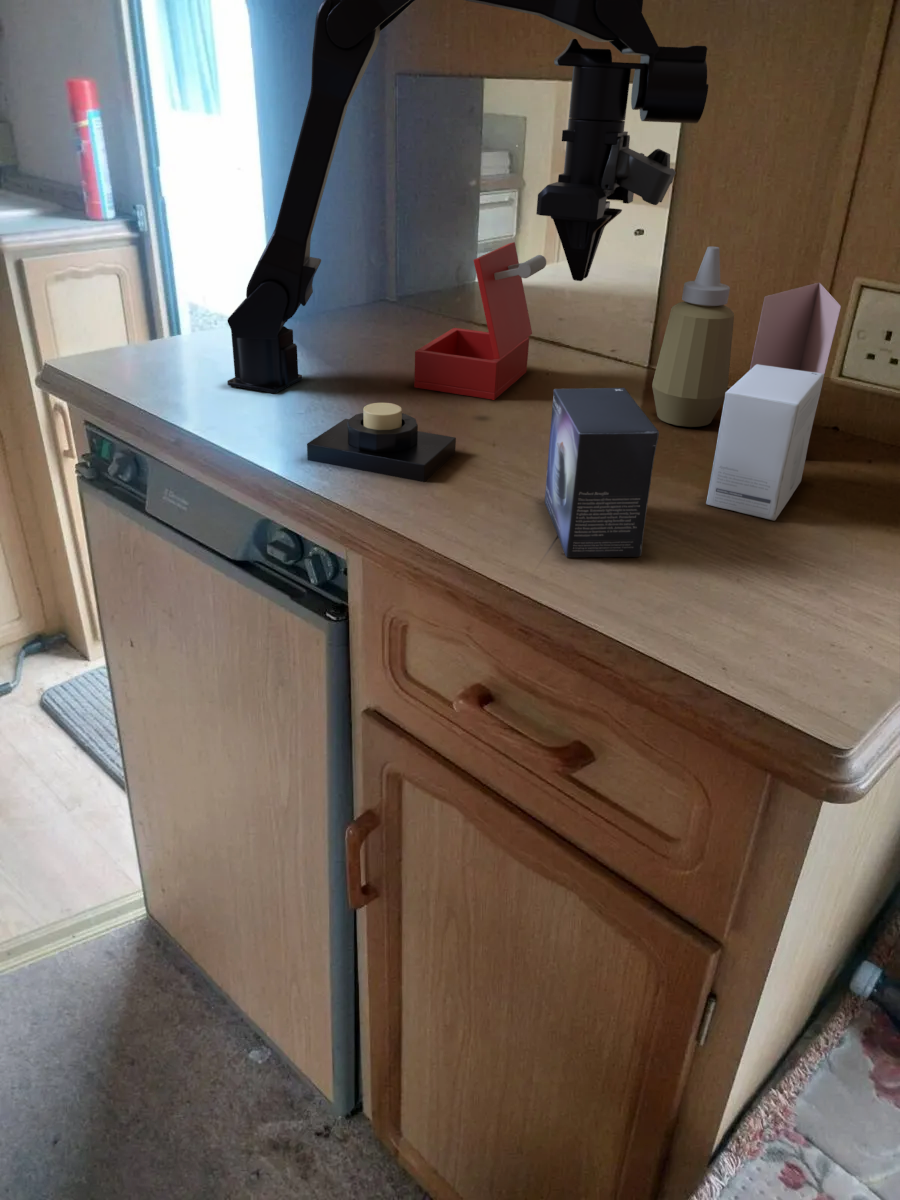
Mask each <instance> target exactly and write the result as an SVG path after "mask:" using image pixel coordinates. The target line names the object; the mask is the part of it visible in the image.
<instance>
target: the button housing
mask: <svg viewBox="0 0 900 1200" xmlns="http://www.w3.org/2000/svg"><path fill="white" fill-rule="evenodd" d="M456 446H457V438H456V437H455V436H450V435H443V434H437V433H432V432H426V431H420V430H419V424H418V422H417V420H416V418H415V417H413V416H411V415H408V414H407V413H403V412H402V427H401V428H396V429H392V430H376V429H370V428H367V427H365V426H364V418H363V412H361V413H357V414H355V415H353V416H351V417H349V418H344V419H342V420H341V421H340V422H338V423H337V424H335V425H334V426H332V427H330V428H329V429H327V430H325V431H324V432H323V433H321V434H320V435H318V436H316V437H314V438H313V439H312V440H310V441H309V442H307V443H306V452H307V453H306V456H307V461H309V462H315V463H320V464H325V465H332V466H337V467H340V468H341V467H342V468H347V469H353V470H358V471H362V472H363V471H364V472H367V473H374V474H379V475H385V476H389V477H395V478H401V479H404V480H410V481H416V482H421V483H425V482H426V481H427V480H428V479H429V478H431V476H433V475H434V474H435V473H436V472H437V471H438V470H439V469H441V467H442V466H443V465H444V464H446V463H447V462H448V461H449V460H451V458H452V457H453V456H454V455H456Z"/></svg>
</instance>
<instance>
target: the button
mask: <svg viewBox="0 0 900 1200" xmlns="http://www.w3.org/2000/svg"><path fill="white" fill-rule="evenodd" d="M362 411H363V412H362V413H363V418H364V426H365V427H367V428H370V429H376V430H392V429H396V428H401V427H402V413H403V408H402V407H401V406H400V405H398V404H395V403H391V402H373V403H368V404H367V405H365V406H364V407H363V409H362Z"/></svg>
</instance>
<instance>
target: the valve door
mask: <svg viewBox="0 0 900 1200" xmlns="http://www.w3.org/2000/svg"><path fill="white" fill-rule="evenodd" d="M473 265H474V270H475V274H476V278H477V284H478V288H479V293H480V297H481V303H482V306H483V307H482V308H483V312H484V317H485V323H486V327H487V332H489V336H490V341H491V346H492V350H493V355H494V359H500V358H501V357H502V356H504V355H505V354H506V353H508V352H509V351H510V350H512V349H513V348H514V347H516V346H517V345H518V344H519V343H521V342H522V341H523V340H525V339H526V338H530V336H532V335H533V331H532V324H531V320H530V315H529V310H528V304H527V298H526V294H525V289H524V283H523V279H528V278H530V277H532V276H534V275H535V274H537V273H538V272H540V271H542V270H543V269H545V267H546V266H547V259H546V257H545V256H544V255H543V254H538V255H535V256H533V257H531V258H530V259H528V260H526V261H523V262H520V263H519V258H518V251H517V246H516V242H515V241H513V242H509V243H507V244H505V245H503V246H500V247H498V248H496V249H494V250H492V251H490V252H488V253H485V254H483V255H481V256H478V257H476V258H474V259H473Z"/></svg>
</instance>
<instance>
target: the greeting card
mask: <svg viewBox="0 0 900 1200" xmlns="http://www.w3.org/2000/svg"><path fill="white" fill-rule="evenodd" d="M841 308H842V306H841V304H840V303H839V302H838V301H837V300H836V299H835V298H834V296H833V295H831V294H830V292H829V291H828V290H827V289H826V288H825V287H824V285H823V284H822V283H821V282H816V283H812V284H808V285H804V286H800V287H795V288H792V289H789V290H785V291H781V292H776V293H774V294H768V295H765V296H764V299H763V303H762V307H761V313H760V318H759V323H758V328H757V333H756V338H755V343H754V348H753V353H752V357H751V362H750V367H749V370H751V369H752V368H753V367H754V366H755V365H756V364H759V365H766V366H773V367H780V368H787V369H794V370H801V371H808V372H816V373H822V374H824V375H825V373H826V370H827V366H828V361H829V357H830V353H831V350H832V345H833V341H834V337H835V334H836V328H837V325H838V320H839V317H840V313H841Z"/></svg>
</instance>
